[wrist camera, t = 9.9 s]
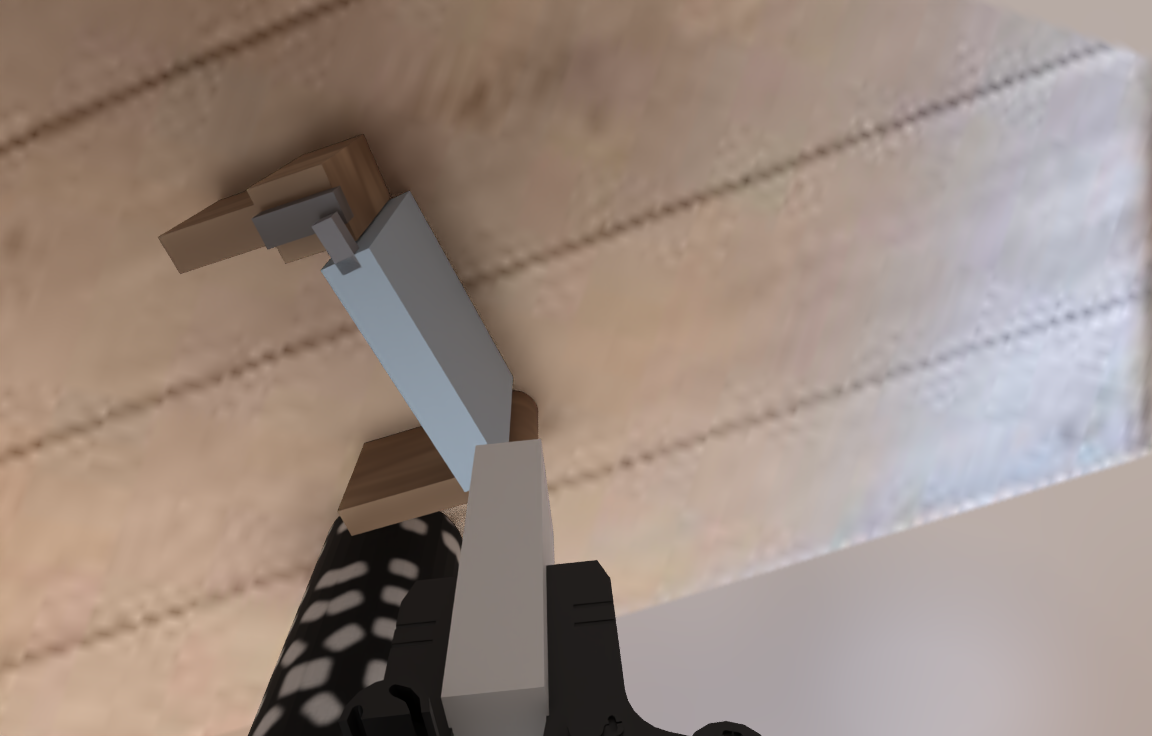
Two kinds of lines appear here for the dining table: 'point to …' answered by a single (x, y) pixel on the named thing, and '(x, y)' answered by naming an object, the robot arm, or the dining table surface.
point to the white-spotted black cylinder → (351, 621)
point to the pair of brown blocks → (283, 219)
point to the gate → (422, 329)
